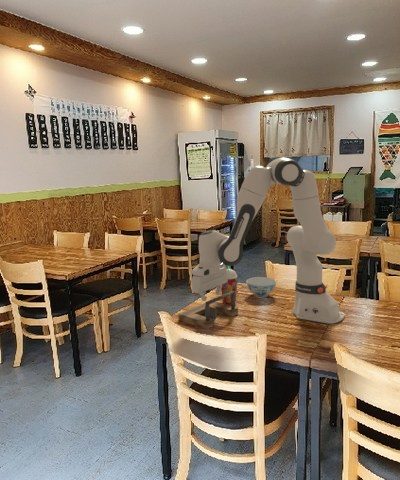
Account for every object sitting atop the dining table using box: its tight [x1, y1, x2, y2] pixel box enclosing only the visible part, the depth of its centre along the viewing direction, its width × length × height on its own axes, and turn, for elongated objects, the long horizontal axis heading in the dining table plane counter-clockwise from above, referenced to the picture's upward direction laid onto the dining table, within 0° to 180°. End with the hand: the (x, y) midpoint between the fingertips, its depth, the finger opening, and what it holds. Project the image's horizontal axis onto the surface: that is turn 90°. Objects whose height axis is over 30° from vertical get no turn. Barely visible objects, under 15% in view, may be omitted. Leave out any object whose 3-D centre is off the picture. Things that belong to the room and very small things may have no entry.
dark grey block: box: [204, 305, 217, 320], centre depth 180 cm, size 5×5×6 cm
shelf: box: [178, 291, 239, 330], centre depth 180 cm, size 16×22×11 cm
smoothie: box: [221, 266, 238, 306], centre depth 197 cm, size 8×8×20 cm
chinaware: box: [245, 276, 277, 299], centre depth 208 cm, size 15×15×8 cm
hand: (211, 297), depth 179 cm, fingers open, 8 cm apart
